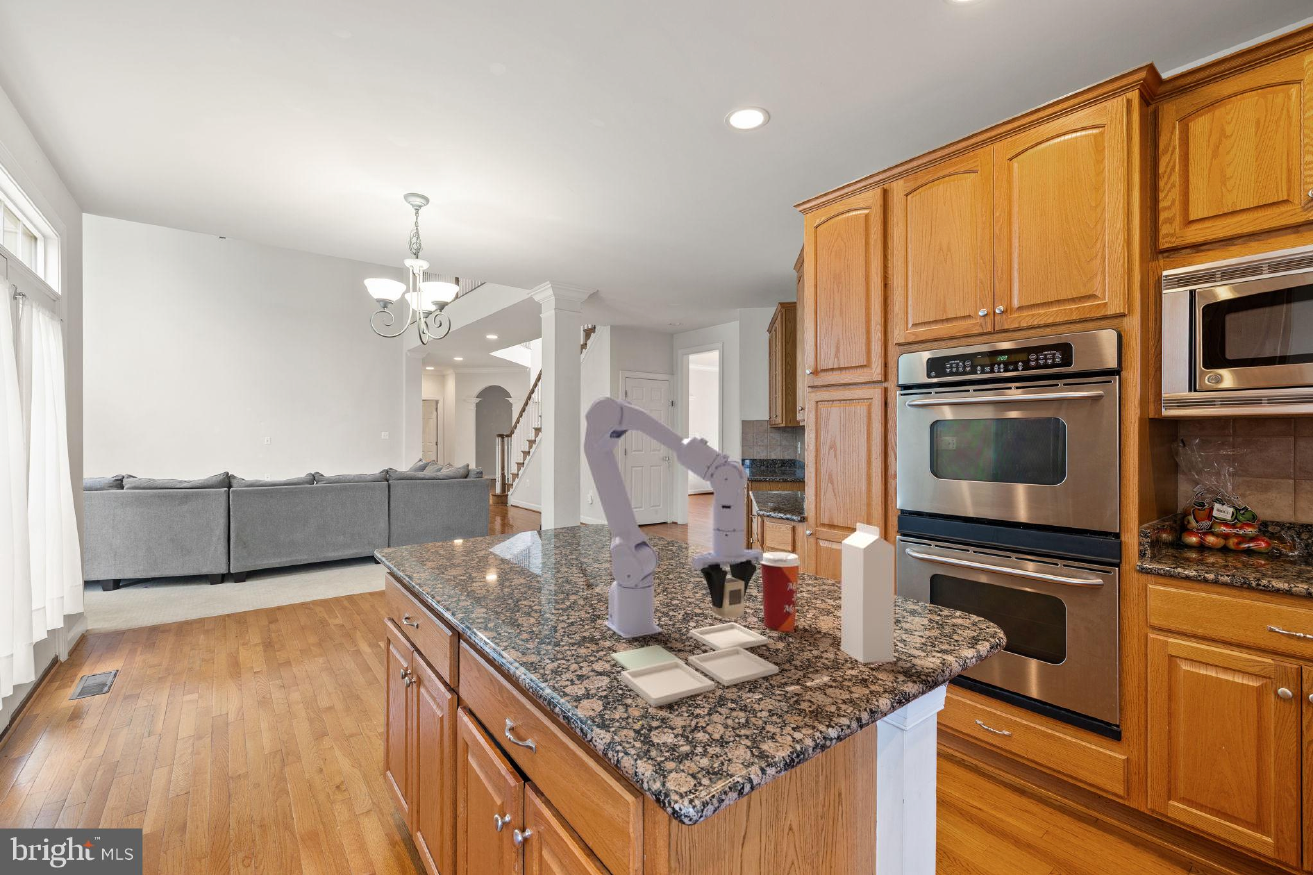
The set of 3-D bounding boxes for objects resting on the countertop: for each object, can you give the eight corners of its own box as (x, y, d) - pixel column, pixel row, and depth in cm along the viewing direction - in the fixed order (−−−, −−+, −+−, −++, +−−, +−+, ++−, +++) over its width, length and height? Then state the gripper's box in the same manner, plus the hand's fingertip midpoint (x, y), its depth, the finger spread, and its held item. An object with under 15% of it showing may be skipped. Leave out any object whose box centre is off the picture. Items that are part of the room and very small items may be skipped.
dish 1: (620, 679, 85) (620, 671, 85) (677, 666, 90) (677, 659, 90) (653, 707, 76) (653, 698, 76) (714, 691, 81) (714, 683, 81)
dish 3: (688, 664, 91) (688, 657, 91) (738, 653, 96) (738, 646, 96) (725, 688, 82) (725, 680, 82) (778, 674, 87) (778, 667, 87)
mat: (610, 656, 94) (610, 654, 94) (657, 647, 98) (657, 644, 98) (635, 676, 86) (635, 673, 86) (685, 665, 91) (685, 662, 91)
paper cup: (801, 636, 104) (801, 560, 104) (758, 633, 106) (759, 558, 106) (799, 623, 112) (799, 552, 112) (759, 620, 114) (760, 550, 114)
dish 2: (689, 637, 103) (689, 630, 103) (733, 628, 108) (733, 622, 108) (721, 655, 95) (721, 648, 95) (768, 645, 100) (768, 638, 100)
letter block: (712, 612, 102) (712, 578, 102) (730, 609, 104) (730, 576, 104) (725, 618, 99) (726, 583, 99) (744, 615, 101) (744, 581, 101)
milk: (862, 666, 91) (863, 528, 91) (840, 652, 97) (840, 523, 97) (894, 661, 93) (895, 526, 93) (870, 648, 99) (871, 521, 99)
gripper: (708, 535, 95) (707, 616, 95) (774, 529, 102) (773, 605, 102) (685, 529, 101) (684, 605, 101) (749, 524, 108) (748, 595, 108)
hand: (727, 604), depth 102 cm, fingers closed on letter block, 4 cm apart
